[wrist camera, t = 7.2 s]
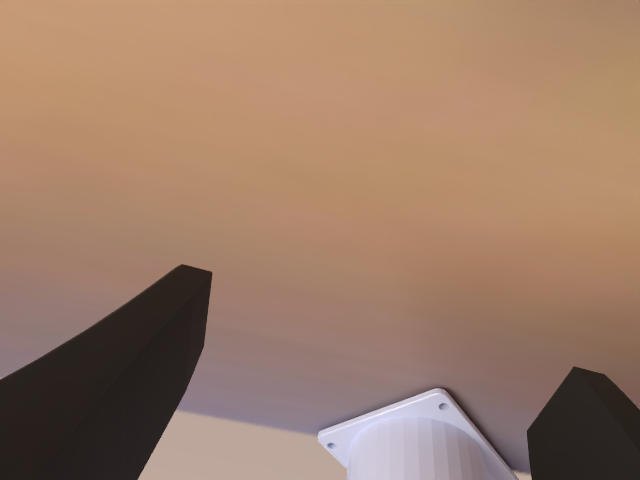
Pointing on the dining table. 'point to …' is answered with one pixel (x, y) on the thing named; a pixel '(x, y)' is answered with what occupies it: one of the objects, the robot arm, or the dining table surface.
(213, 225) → the dining table surface
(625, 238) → the dining table surface
